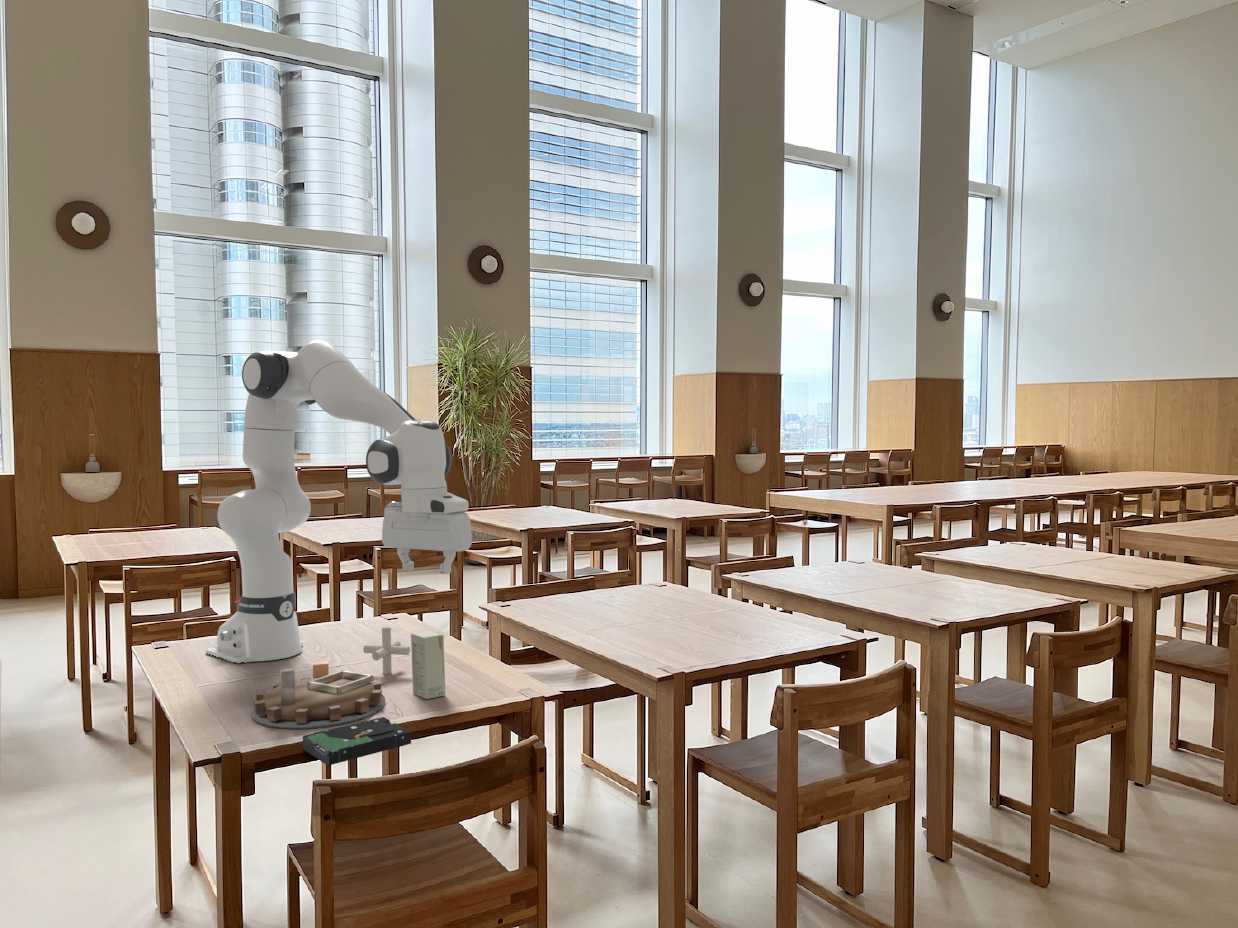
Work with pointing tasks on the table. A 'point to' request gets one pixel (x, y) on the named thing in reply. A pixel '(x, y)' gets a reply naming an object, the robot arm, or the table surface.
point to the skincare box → (428, 664)
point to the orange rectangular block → (320, 669)
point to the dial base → (318, 723)
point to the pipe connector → (386, 649)
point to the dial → (318, 697)
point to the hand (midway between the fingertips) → (426, 572)
